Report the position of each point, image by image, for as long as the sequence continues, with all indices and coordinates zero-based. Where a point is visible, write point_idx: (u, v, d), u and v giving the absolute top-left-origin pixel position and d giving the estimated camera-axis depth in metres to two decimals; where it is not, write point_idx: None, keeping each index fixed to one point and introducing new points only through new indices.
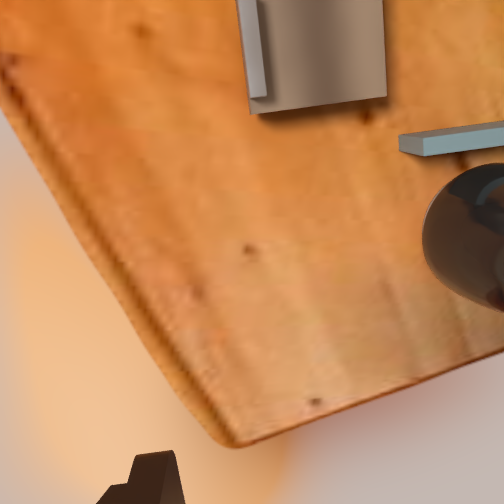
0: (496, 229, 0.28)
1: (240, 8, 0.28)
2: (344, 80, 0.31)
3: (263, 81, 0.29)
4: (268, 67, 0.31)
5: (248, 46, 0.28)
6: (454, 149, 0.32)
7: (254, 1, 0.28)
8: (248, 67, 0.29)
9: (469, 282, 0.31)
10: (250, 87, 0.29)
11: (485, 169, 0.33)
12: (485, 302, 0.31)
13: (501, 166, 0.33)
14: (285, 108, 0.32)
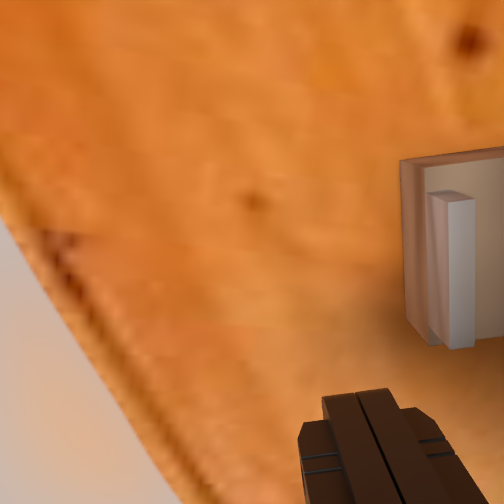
0: None
1: (450, 229, 0.18)
2: None
3: (472, 328, 0.19)
4: None
5: (455, 281, 0.18)
6: None
7: (472, 219, 0.18)
8: (452, 309, 0.19)
9: None
10: (451, 336, 0.19)
11: None
12: None
13: None
14: (479, 337, 0.22)
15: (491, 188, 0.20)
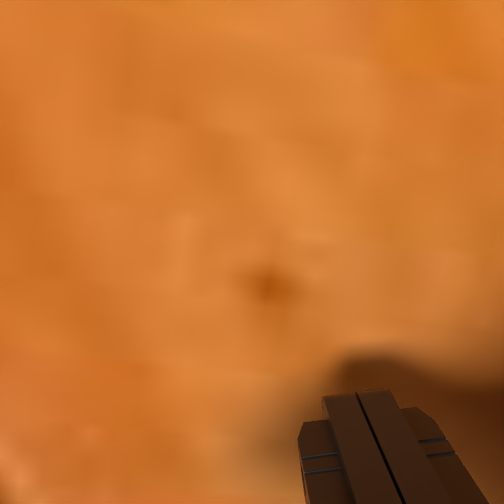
0: None
1: None
2: None
3: None
4: None
5: None
6: None
7: None
8: None
9: None
10: None
11: None
12: None
13: None
14: None
15: None
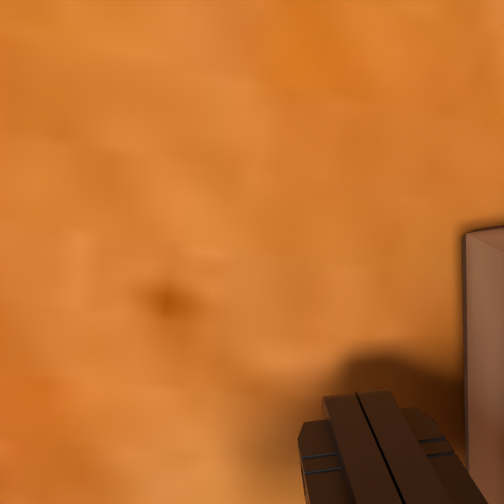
0: None
1: None
2: None
3: None
4: None
5: None
6: None
7: None
8: None
9: None
10: None
11: None
12: None
13: None
14: None
15: None
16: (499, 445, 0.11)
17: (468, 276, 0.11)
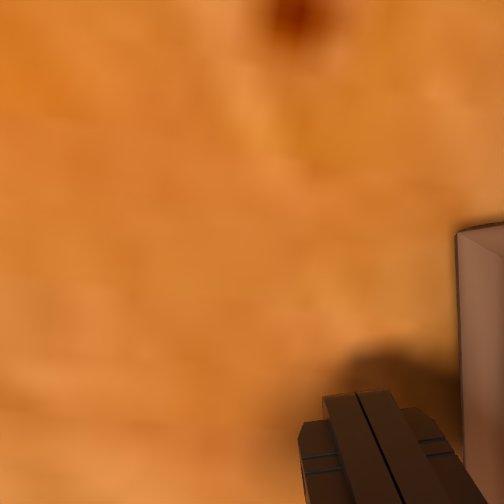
0: None
1: None
2: None
3: None
4: None
5: None
6: None
7: None
8: None
9: None
10: None
11: None
12: None
13: None
14: None
15: None
16: (493, 441, 0.11)
17: (460, 275, 0.11)
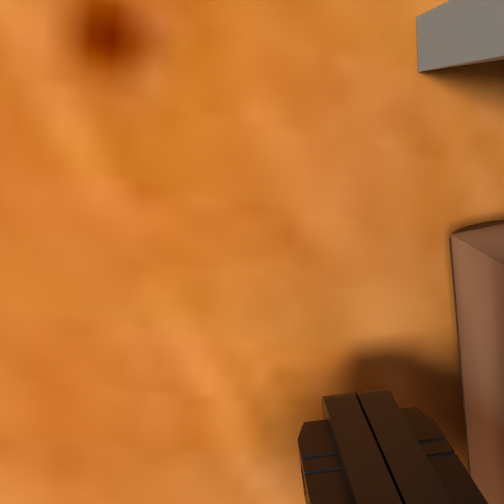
0: None
1: None
2: None
3: None
4: None
5: None
6: None
7: None
8: None
9: None
10: None
11: None
12: None
13: None
14: None
15: None
16: (495, 441, 0.11)
17: (456, 276, 0.11)
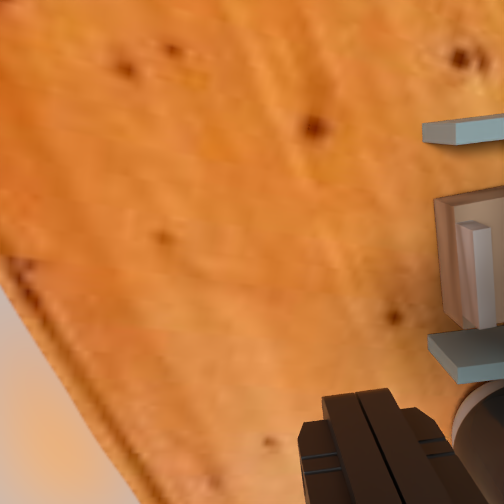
0: None
1: (475, 248, 0.27)
2: None
3: (494, 314, 0.28)
4: None
5: (480, 282, 0.27)
6: (490, 378, 0.31)
7: (489, 241, 0.27)
8: (479, 302, 0.28)
9: None
10: (479, 320, 0.28)
11: None
12: None
13: None
14: (499, 321, 0.30)
15: (500, 217, 0.29)
16: (448, 270, 0.31)
17: (435, 213, 0.31)
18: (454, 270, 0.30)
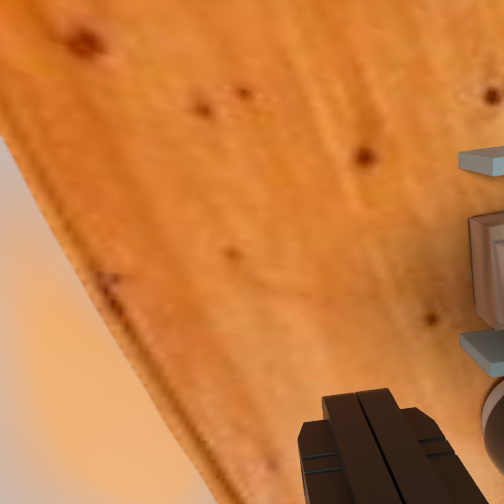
0: None
1: None
2: None
3: None
4: None
5: None
6: None
7: None
8: None
9: None
10: None
11: None
12: None
13: None
14: None
15: None
16: (482, 279, 0.36)
17: (470, 231, 0.36)
18: (488, 280, 0.35)
